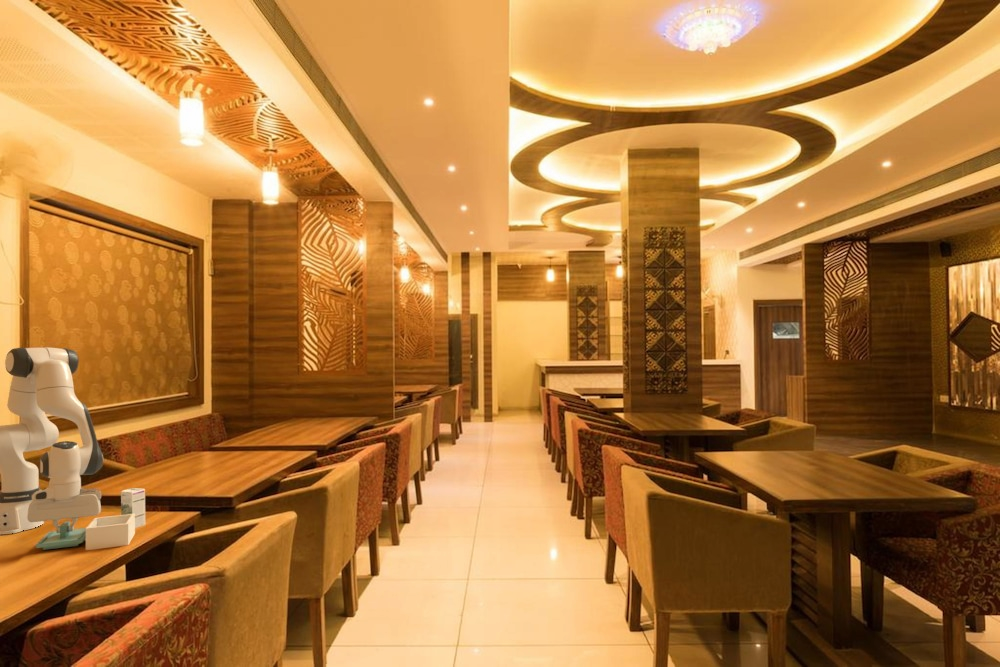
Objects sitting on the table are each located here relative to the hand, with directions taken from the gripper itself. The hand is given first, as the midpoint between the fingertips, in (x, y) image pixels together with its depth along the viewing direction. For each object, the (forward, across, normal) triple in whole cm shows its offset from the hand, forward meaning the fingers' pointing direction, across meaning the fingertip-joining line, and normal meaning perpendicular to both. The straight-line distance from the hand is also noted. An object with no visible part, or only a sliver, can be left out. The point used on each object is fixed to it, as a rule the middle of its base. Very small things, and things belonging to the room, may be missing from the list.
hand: (65, 531), depth 207 cm
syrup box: (+5, -18, -14) cm, 23 cm away
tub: (+5, -14, +4) cm, 15 cm away
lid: (+4, 0, 0) cm, 4 cm away
